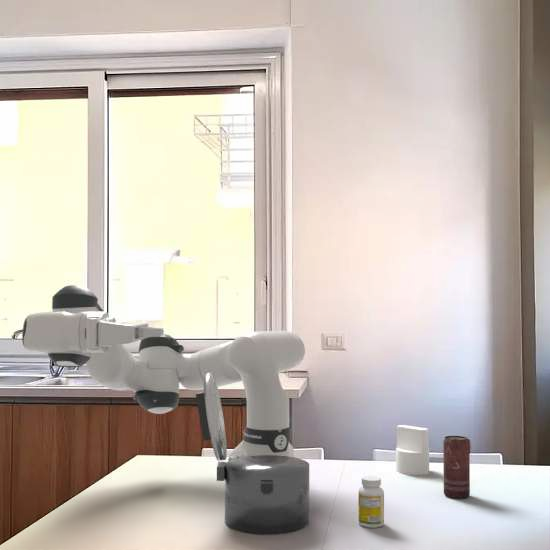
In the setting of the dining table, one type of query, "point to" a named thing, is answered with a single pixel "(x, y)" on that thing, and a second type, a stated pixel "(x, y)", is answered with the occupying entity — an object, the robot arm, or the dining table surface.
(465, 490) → the can
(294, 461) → the cooker pot
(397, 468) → the white stacked block
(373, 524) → the supplement bottle
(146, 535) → the dining table surface
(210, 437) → the cooker lid
